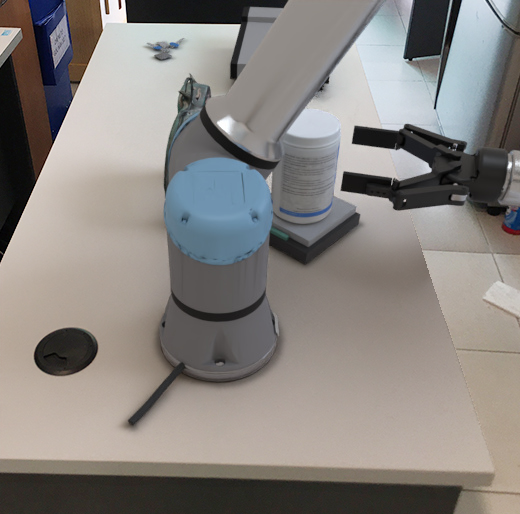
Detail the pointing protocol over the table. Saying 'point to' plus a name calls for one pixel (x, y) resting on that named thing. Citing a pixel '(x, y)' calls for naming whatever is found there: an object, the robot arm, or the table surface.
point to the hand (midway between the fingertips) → (347, 156)
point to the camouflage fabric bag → (186, 112)
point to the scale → (313, 231)
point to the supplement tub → (307, 168)
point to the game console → (252, 36)
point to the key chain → (164, 45)
